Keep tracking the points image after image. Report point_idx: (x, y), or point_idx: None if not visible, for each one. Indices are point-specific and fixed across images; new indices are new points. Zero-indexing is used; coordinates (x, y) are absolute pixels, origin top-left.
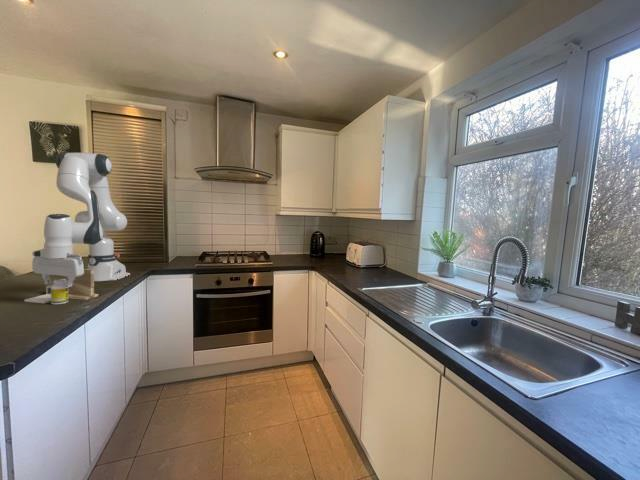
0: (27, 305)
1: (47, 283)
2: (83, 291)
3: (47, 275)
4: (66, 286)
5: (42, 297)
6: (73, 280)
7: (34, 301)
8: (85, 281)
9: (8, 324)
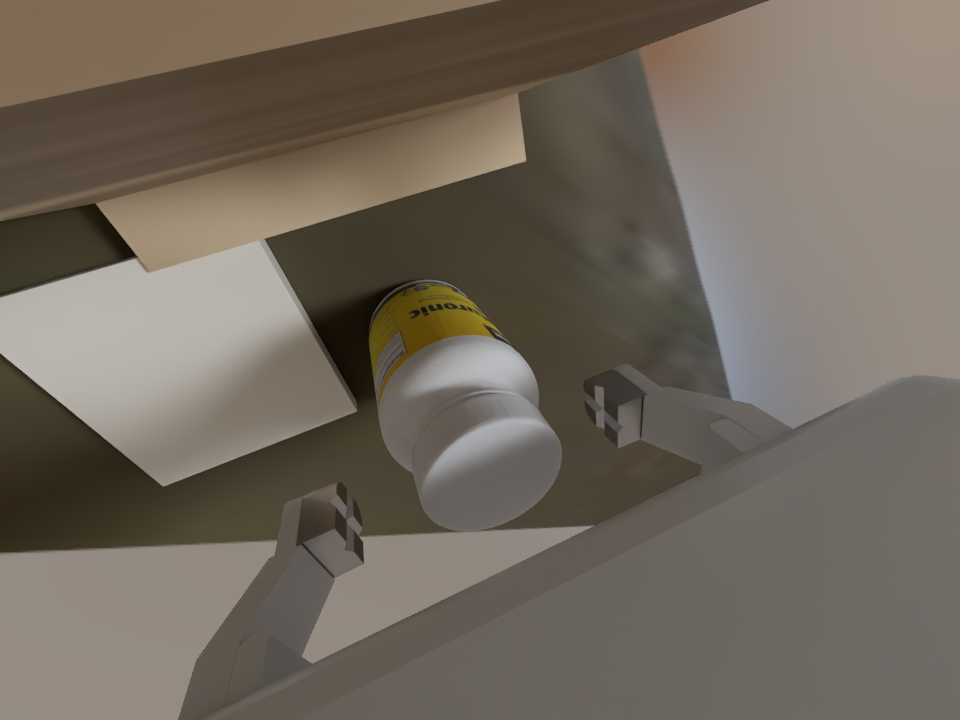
0: (326, 468)
1: (356, 529)
2: (436, 110)
3: (295, 663)
4: (535, 380)
5: (169, 389)
6: (694, 394)
7: (270, 441)
8: (539, 73)
9: (569, 521)
